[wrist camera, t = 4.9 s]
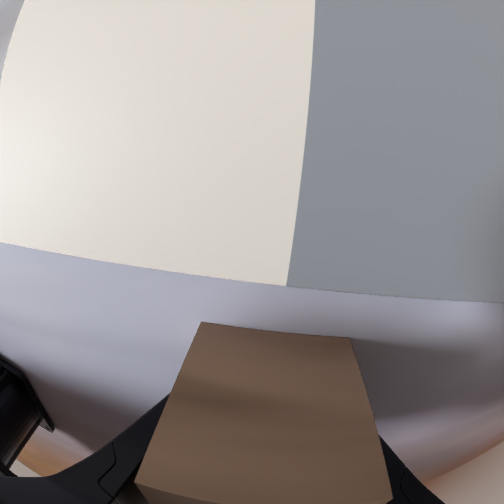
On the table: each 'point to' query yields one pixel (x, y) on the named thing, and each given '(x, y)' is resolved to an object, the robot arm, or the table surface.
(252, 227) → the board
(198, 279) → the table surface
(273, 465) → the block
